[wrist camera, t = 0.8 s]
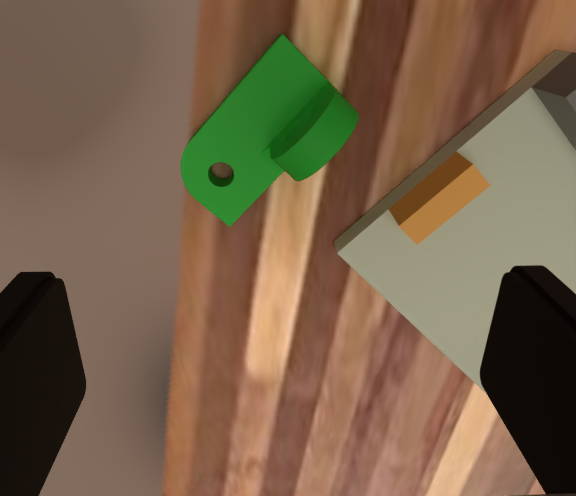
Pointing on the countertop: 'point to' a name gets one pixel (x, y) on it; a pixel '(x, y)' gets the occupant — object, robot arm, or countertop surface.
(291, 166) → the mechanical part
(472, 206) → the deck plate
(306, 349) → the countertop surface
